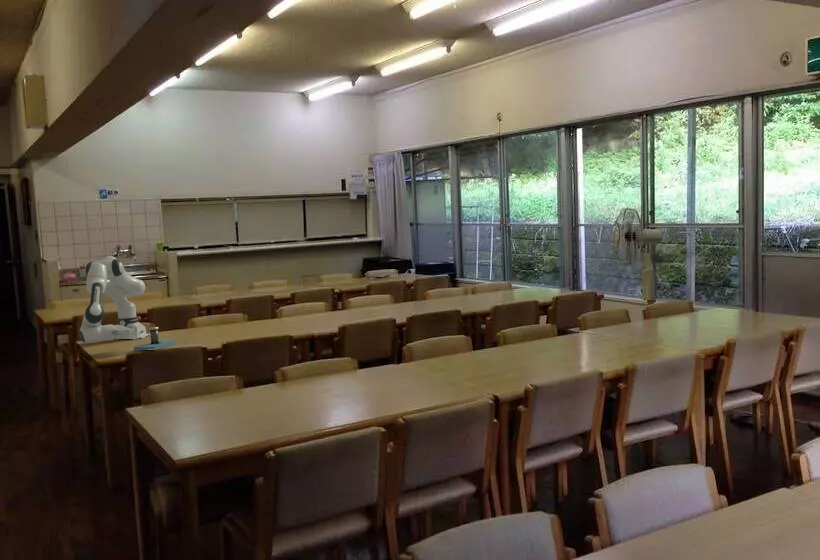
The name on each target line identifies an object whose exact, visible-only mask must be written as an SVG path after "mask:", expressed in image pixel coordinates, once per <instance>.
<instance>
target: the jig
mask: <svg viewBox="0 0 820 560" xmlns="http://www.w3.org/2000/svg"><path fill="white" fill-rule="evenodd" d="M176 342H177V341H176V339H159V344H151V341H148V342H145V343H142V344H141V343H140V344H139V345H136V346H133V352H142V351H141V350H148V349H157V348H163V349H165V348H168V347H172V346H173V345H174V346H175V345H176ZM164 347H165V348H164Z"/></svg>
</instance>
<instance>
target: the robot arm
mask: <svg viewBox="0 0 820 560" xmlns="http://www.w3.org/2000/svg"><path fill="white" fill-rule="evenodd" d="M84 270H85V276H86V285H85V286H86V291H87V292H88V293H89V294H90V298H89V299H90V301H89V305H88V306H87V308H86V309H85V312H84V314H83V318H82V322H81V325H80V329H78V337H79V338H80V340H81V342H83V343H85V344H86V343H87V344H88V343H89V344H90V343H98V342H101V341H112V340H115V339H116V338H118V339H133V340H140V339H139V338H142V339H144V338H147V337H149V336H150V332H149V333H147V328H146V326H144V325H143V324H142V323H141V322H139V320H141V318H142V317H141V316H140V315H139V316H137V308H136V307H137V306H136V304H135V303H133V302H132V301H130V300H128V298H127V297H136V296H140V295H143V294H144V293H145V291H146V284H145V282H144V280H142V279H139V278H136V277H134V276H132V275H131V274H129V273H128V272H127V271H126V270H125V268H124V263H123V262H122V261H121V260H120V259H117V258H116V257H114V256H112V255H107V256H106V257H104V258H103V259H102V260H96V261H90V262H88V263H87V264H86V265H85V268H84ZM104 293H105V294H106V296H108V297H109V298H111V299H112V300H113V302H114V303H115V306H116V310H117V316H118V318H117V324H116V325H114V324H104V325H103V324H102V321H103V319H104V317H105V309H104V307H103V297H104ZM148 335H149V336H148ZM146 336H147V337H146ZM118 339H117V340H118Z"/></svg>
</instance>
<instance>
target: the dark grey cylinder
mask: <svg viewBox="0 0 820 560" xmlns="http://www.w3.org/2000/svg"><path fill="white" fill-rule="evenodd" d="M159 328H160V327H159V326H151V327H148V330H149V334H150V335H149V338H150V342H151V344H159V340H160V339H159V331H158V330H159Z"/></svg>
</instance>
